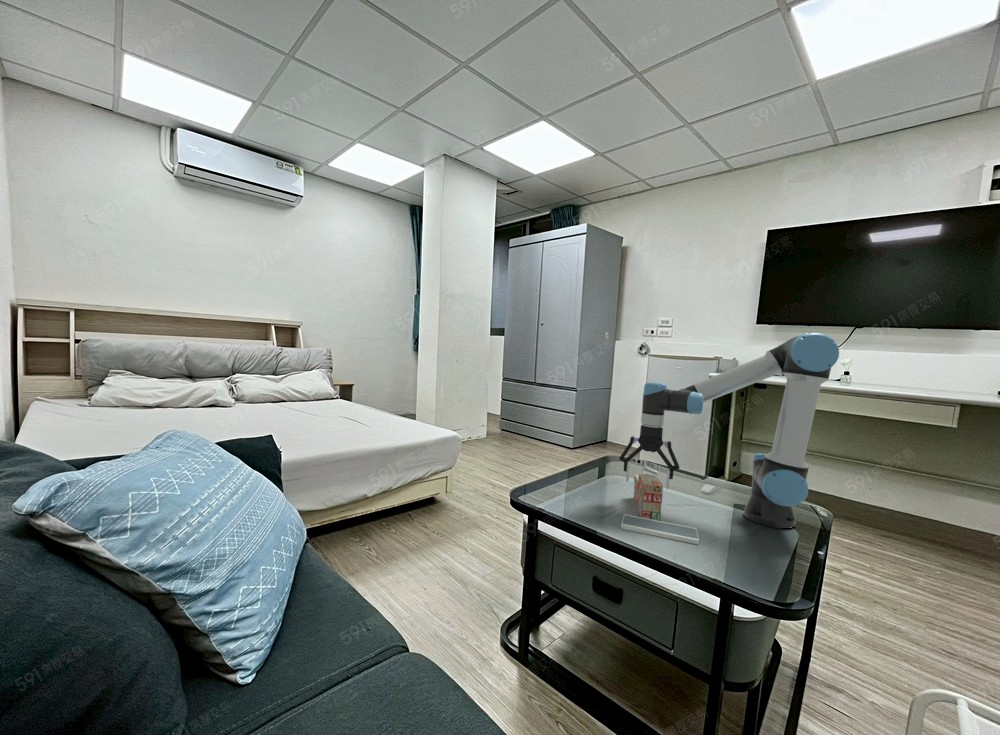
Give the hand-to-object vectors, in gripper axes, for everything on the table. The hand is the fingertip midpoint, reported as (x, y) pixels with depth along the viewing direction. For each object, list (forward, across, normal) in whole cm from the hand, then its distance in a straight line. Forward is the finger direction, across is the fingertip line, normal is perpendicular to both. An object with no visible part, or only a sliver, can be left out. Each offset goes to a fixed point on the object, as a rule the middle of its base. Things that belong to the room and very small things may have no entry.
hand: (646, 484), depth 145 cm
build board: (+9, -5, +18) cm, 21 cm away
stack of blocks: (+9, 0, 0) cm, 9 cm away
